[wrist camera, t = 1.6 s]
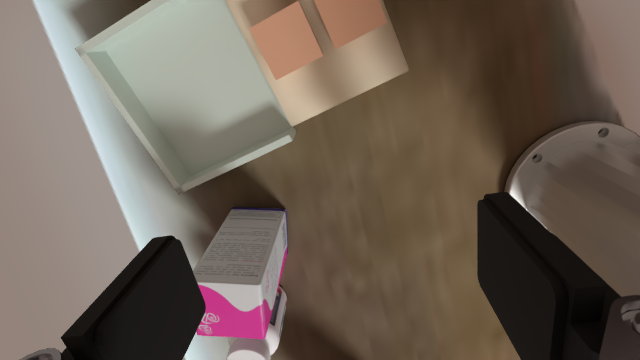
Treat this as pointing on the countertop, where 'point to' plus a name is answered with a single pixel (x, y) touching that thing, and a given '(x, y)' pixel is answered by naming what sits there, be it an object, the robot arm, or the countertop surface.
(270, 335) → the pill bottle
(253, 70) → the tray
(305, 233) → the countertop surface
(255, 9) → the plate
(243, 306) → the supplement box
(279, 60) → the tile
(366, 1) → the tile
